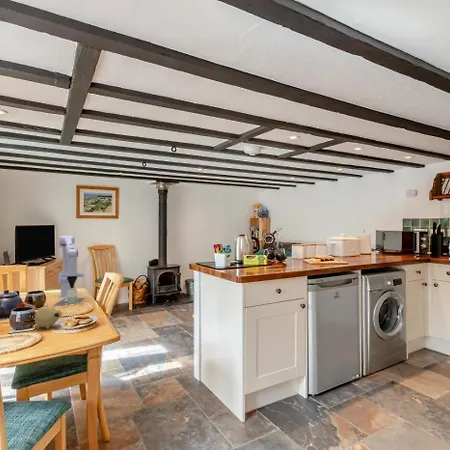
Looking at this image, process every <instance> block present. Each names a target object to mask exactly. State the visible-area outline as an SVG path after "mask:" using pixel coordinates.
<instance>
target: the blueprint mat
mask: <svg viewBox="0 0 450 450" xmlns="http://www.w3.org/2000/svg"><path fill="white" fill-rule="evenodd" d="M85 299H86V297H77V303H75V304H76V305H78V304H79V303H81V302H82V301H83V300H85ZM65 305H70V304H67V297H64V299H62V300H60V301H58V302H57V303H55V304H53V305H52V307H62V306H63V307H64V306H65Z"/></svg>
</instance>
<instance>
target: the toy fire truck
mask: <svg viewBox="0 0 450 450" xmlns="http://www.w3.org/2000/svg"><path fill="white" fill-rule="evenodd" d="M21 307H24V308H26V307H28V308H33V309H34V311H35V310H36V308H37V307H36V305H32V304H29V303H27V302H26V301H24V302H22V303H18V304H17V306H16V308H17V309H22V308H21Z"/></svg>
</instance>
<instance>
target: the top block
mask: <svg viewBox="0 0 450 450" xmlns="http://www.w3.org/2000/svg"><path fill="white" fill-rule="evenodd" d="M75 296H77V297H78V289H77V288H74V289H69V290H67V297H75ZM67 297H66V298H67Z"/></svg>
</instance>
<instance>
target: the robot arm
mask: <svg viewBox="0 0 450 450" xmlns="http://www.w3.org/2000/svg"><path fill="white" fill-rule="evenodd" d="M75 237H76V236H75V235H74V234H73V235H59V236H58V246H59V248H61V250H62V271H60V272H59V274H58V284H59V285H60V295H59V296H58V298H67V290H69V289H75V284H76V281H77V279H78V278H84V277H85V273H80V272H79V273H78V257H79V250H78V248H76V246H75V242H76V241H75V240H76V239H75Z"/></svg>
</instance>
